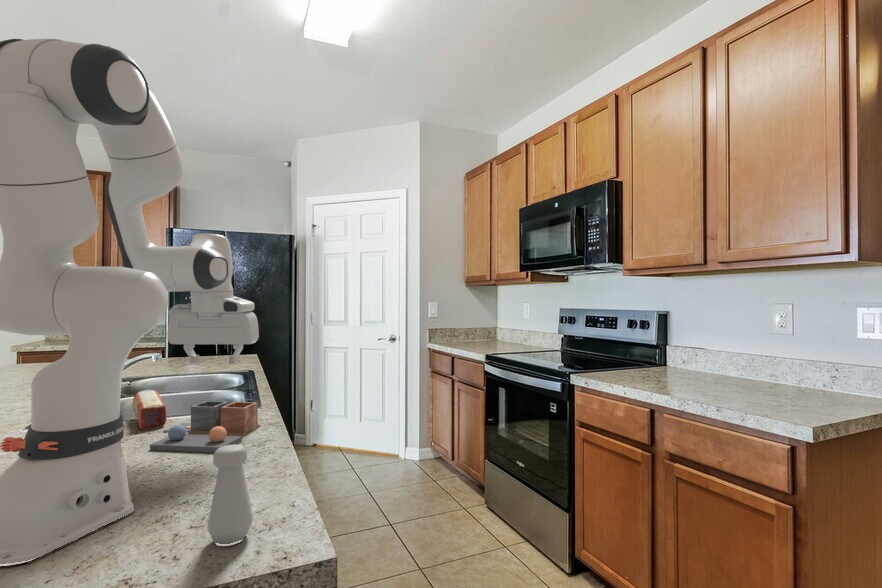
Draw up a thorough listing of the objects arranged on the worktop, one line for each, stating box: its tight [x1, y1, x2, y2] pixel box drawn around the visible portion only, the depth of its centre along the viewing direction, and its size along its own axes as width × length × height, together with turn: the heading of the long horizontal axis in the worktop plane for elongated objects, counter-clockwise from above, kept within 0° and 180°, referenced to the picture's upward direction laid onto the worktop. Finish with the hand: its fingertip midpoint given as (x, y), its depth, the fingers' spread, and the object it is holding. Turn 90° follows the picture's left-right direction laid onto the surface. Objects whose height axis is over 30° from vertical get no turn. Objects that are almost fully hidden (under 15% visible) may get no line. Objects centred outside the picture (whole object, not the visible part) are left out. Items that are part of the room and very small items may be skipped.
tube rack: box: [187, 400, 261, 437], centre depth 115 cm, size 8×14×7 cm, turn 83°
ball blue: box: [167, 424, 187, 441], centre depth 104 cm, size 4×4×4 cm
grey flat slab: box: [149, 433, 243, 454], centre depth 104 cm, size 8×17×1 cm, turn 83°
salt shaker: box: [206, 444, 254, 544], centre depth 64 cm, size 6×6×13 cm
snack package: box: [132, 389, 168, 431], centre depth 125 cm, size 21×7×7 cm, turn 37°
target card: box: [163, 422, 191, 434], centre depth 117 cm, size 7×6×1 cm
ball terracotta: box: [209, 426, 226, 443], centre depth 103 cm, size 4×4×4 cm
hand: (214, 363), depth 106 cm, fingers open, 8 cm apart
